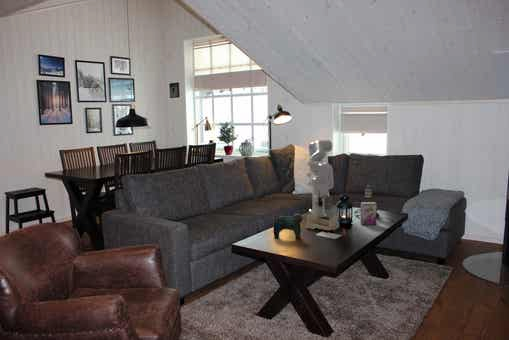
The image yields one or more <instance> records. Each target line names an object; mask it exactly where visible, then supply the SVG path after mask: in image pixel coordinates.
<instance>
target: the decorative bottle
mask: <svg viewBox="0 0 509 340" xmlns="http://www.w3.org/2000/svg"><path fill="white" fill-rule="evenodd" d="M365 186H366V188H365V189H364V191H365V192H364V194H365V195H364V198H368V199H369V198H370V199H371V198H372V194H373V193H372V189H371V188H372V186H371V185H369V184H368V185H365ZM357 200H358V201H359V202H360V203H361V202H365V201H364V200H363V199H361V198H357ZM374 202H375V203H377V206H378V205H379V204H381V203H383V200H378V201H374ZM359 206H360V207H359V209H357V210H356V211H354V214H358V213H360V214H361V204H360V205H359ZM379 216H380V214H379V213H378V212H377V217H379Z"/></svg>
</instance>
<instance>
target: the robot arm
mask: <svg viewBox="0 0 509 340" xmlns="http://www.w3.org/2000/svg"><path fill="white" fill-rule="evenodd" d="M332 151H333V142H332V141H331V140H330V139H326V140H325V139H323V140H322V139H319V140H316V141H313V142H310V143H309V145H308V152H309V155H310V158H309V160H308V161H309V170H310V171H311V173H312V174H313V176H316V177H313V178H312V179H311V182H310V183H311V190H312V192H311V193H312V209H309V210H308V213H311V214H313V213H315V212H316V218H318V219H323V218H326V217H327V214H326V213H325V209H321V208H315V207H314V196H317V199H318V206H323V201H322V198H323V197H324V196H326V197H329V196H328V195H329V190H331V189H333V188H334V184H335V183H334V182H335V181H334V169H333V166H332V164H330V163H329V162H327V161H324V159H325V158H326V156H327V155H326V154H327V153H330V152H332ZM320 197H321V198H320Z"/></svg>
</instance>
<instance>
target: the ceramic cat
mask: <svg viewBox="0 0 509 340" xmlns="http://www.w3.org/2000/svg"><path fill="white" fill-rule="evenodd" d="M289 211H292V215H288V214H285V213H281V214H280V213H279V214H278V215H277V216H276V217H275V218H274V223H273V230H272V231H273V237H274V239H278V240H279V239H280V233H281V232H282V231H283V230H289V231H293V233H294V235H295V240H301V233H302V230H301V224H302V222H303V220H304V216H303V214H302V212H301V211H300V212H299V213H294V209H291V208H290V209H288V210H287V212H289Z"/></svg>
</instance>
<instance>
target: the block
mask: <svg viewBox="0 0 509 340" xmlns="http://www.w3.org/2000/svg"><path fill="white" fill-rule="evenodd" d="M320 198H321V197H320ZM322 201H323V206H318V199H317V196H314V207H315V208H321V209H324V210H328V211H329V210H331V209H332V208H333V206H332V205H333V203H332V201H333V198H332V197H331V196H327V197H326V196H324V197H323V198H322Z"/></svg>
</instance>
